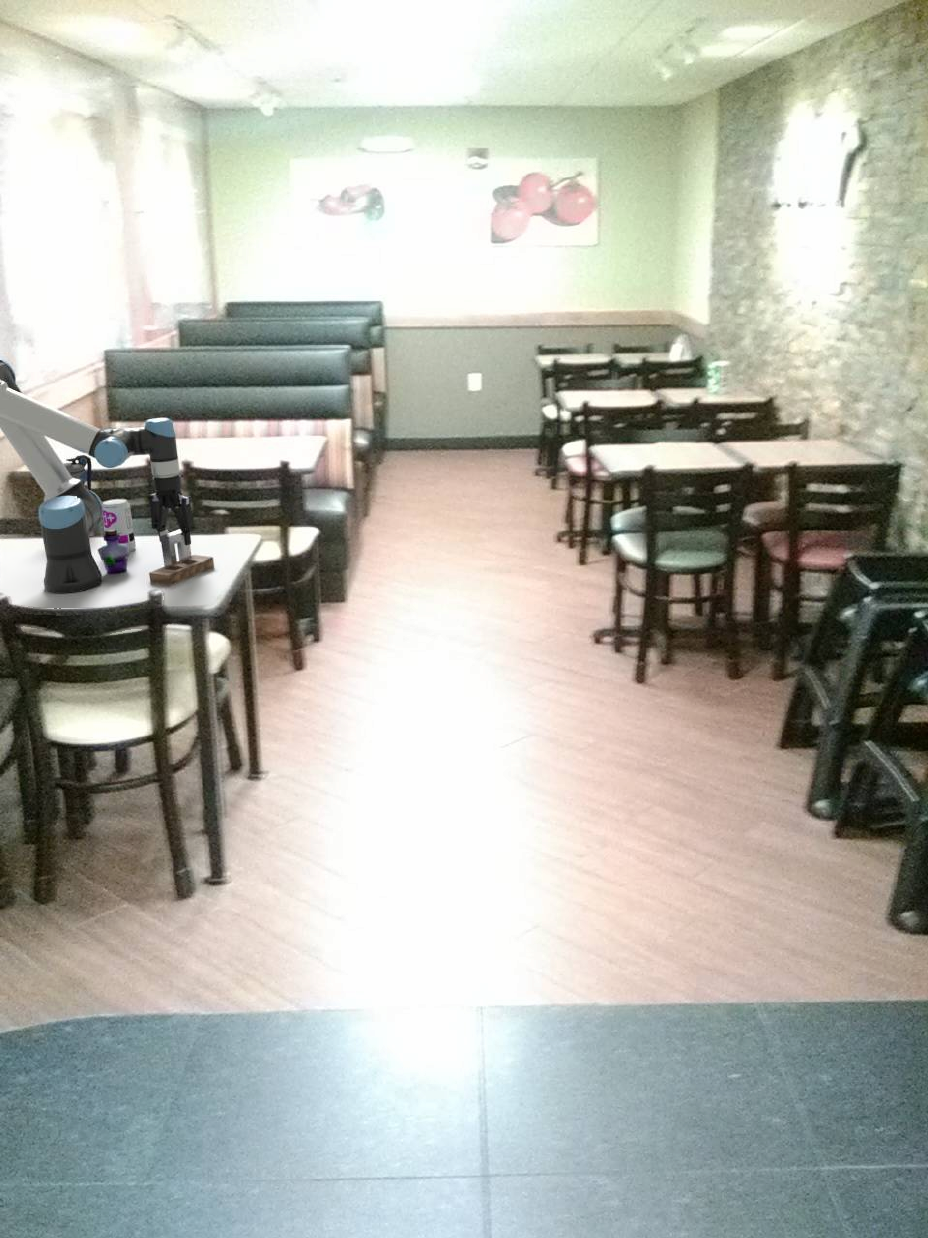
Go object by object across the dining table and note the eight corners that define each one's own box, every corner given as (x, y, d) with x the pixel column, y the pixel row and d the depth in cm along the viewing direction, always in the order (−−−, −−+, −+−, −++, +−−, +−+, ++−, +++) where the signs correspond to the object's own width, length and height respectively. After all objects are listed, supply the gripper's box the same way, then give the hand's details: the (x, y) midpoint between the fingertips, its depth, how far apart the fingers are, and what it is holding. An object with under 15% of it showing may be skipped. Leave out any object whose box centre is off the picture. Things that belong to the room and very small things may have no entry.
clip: (172, 569, 323) (168, 537, 320) (164, 568, 324) (160, 536, 321) (192, 562, 330) (187, 529, 326) (184, 560, 331) (179, 529, 328)
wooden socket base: (169, 586, 309) (168, 575, 308) (150, 583, 312) (148, 572, 311) (214, 567, 323) (213, 557, 322) (195, 564, 326) (194, 554, 326)
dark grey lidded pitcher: (106, 531, 368) (94, 454, 359) (66, 539, 360) (52, 460, 352) (95, 525, 375) (83, 449, 367) (55, 533, 368) (41, 456, 360)
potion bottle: (100, 577, 319) (94, 535, 315) (101, 569, 327) (94, 528, 323) (132, 573, 321) (126, 532, 317) (132, 565, 329) (126, 524, 325)
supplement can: (119, 555, 340) (111, 506, 335) (102, 551, 345) (94, 503, 340) (141, 548, 346) (134, 500, 341) (124, 545, 351) (117, 497, 346)
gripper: (202, 474, 317) (212, 554, 324) (149, 469, 326) (160, 547, 334) (183, 480, 311) (194, 561, 318) (130, 475, 320) (141, 554, 328)
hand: (177, 554), depth 326 cm, fingers open, 7 cm apart
